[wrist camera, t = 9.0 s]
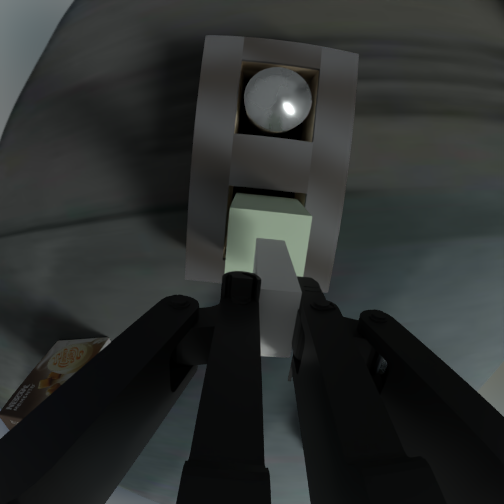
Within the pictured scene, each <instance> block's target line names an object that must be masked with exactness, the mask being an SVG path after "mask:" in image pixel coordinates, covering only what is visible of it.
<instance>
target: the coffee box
mask: <svg viewBox="0 0 504 504" xmlns="http://www.w3.org/2000/svg"><path fill="white" fill-rule="evenodd" d="M109 343H111V341H110V339H109V337H102V338H90V339H75V340H61V341H57V342H56V343H55V345H54V346H53V347H52V348H51V349H50V350H49V351H48V352H47V354H46V355H45V356H44V357H43V358H42V360H41V361H40V362H39V363H38V364H37V366H36V367H35V368H34V369H33V370H32V372H31V373H30V374H29V375H28V376H27V378H26V379H25V380H24V381H23V383H22V384H21V385H20V386H19V388H18V389H17V390H16V391H15V393H14V394H13V395H12V397H11V398H10V399H9V400H8V402H7V403H6V404H5V406H4V407H3V408H2V410H1V411H0V418H1V419H2V421H3V422H4V423H5V425H6V426H7V428H8V429H9V430H11V429H12V428H13V427H14V426H15V425H17V424H18V423H19V422H20V421H21V420H22V419H23V418H24V417H26V416H27V415H28V414H29V413H30V412H31V411H32V410H33V409H35V408H36V407H37V406H38V405H39V404H40V403H41V402H42V401H44V400H45V399H46V398H47V397H48V396H49V395H50V394H52V393H53V392H54V391H55V390H56V389H57V388H58V387H60V386H61V385H62V384H63V383H64V382H65V381H66V380H68V379H69V378H70V377H71V376H72V375H73V374H75V373H76V372H77V371H78V370H79V369H80V368H81V367H83V366H84V365H85V364H86V363H87V362H88V361H90V360H91V359H92V358H93V357H94V356H95V355H97V354H98V353H99V352H100V351H101V350H102V349H104V348H105V347H106V346H107V345H108V344H109Z"/></svg>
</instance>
